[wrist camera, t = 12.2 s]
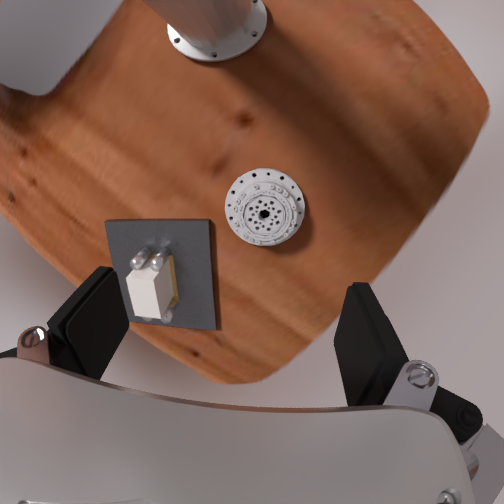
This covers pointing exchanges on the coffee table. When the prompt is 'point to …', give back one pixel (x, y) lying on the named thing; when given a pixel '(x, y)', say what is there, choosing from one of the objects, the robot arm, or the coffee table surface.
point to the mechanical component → (264, 207)
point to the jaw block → (150, 290)
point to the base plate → (180, 260)
